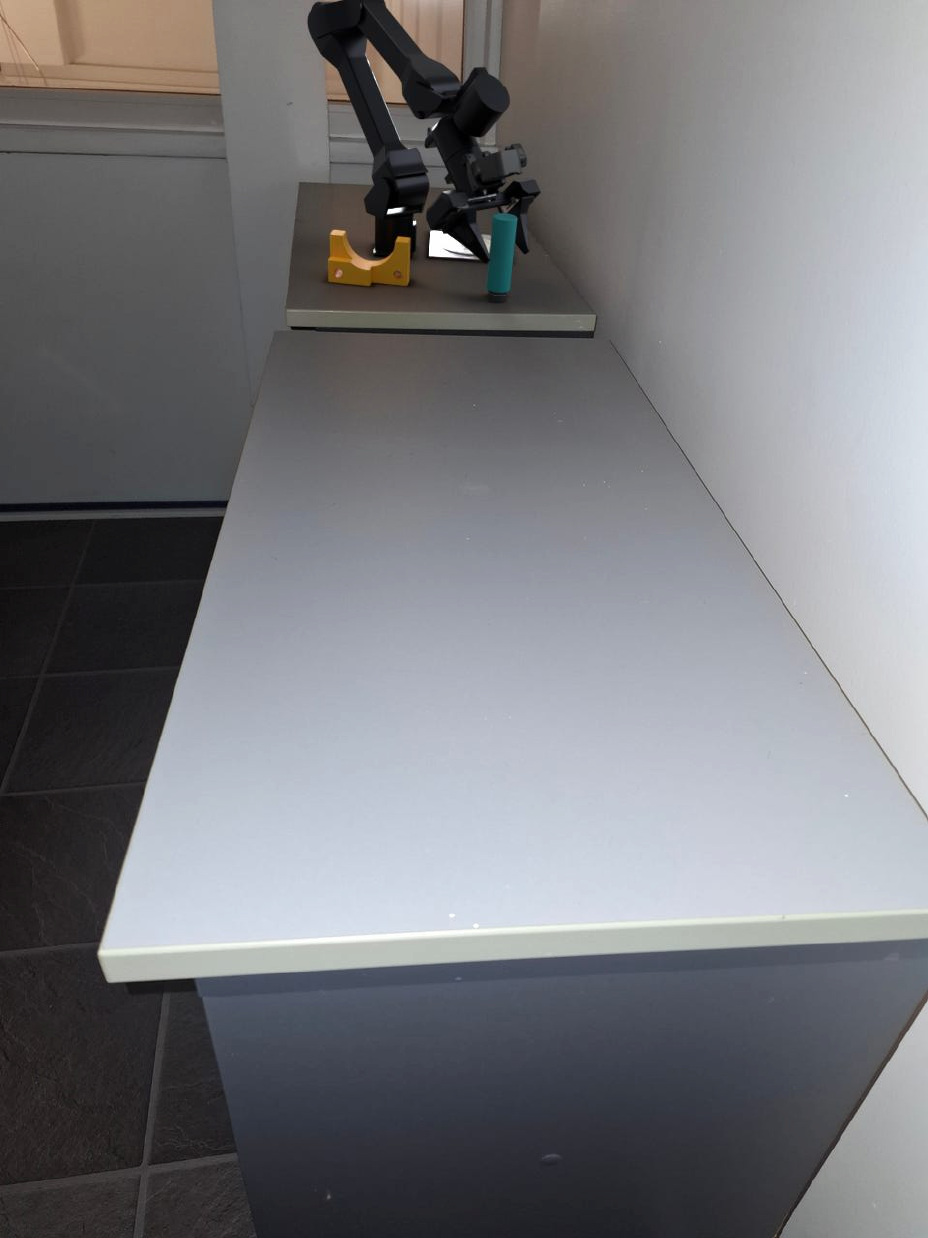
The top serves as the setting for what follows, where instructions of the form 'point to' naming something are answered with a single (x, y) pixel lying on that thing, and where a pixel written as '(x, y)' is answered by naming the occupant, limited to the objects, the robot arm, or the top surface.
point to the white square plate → (452, 248)
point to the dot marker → (501, 256)
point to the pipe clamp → (367, 263)
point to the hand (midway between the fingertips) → (508, 257)
